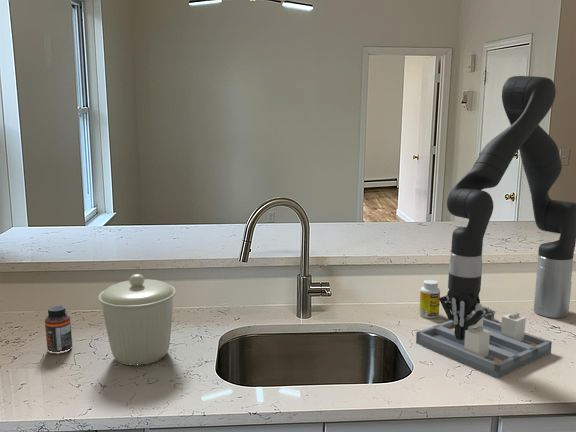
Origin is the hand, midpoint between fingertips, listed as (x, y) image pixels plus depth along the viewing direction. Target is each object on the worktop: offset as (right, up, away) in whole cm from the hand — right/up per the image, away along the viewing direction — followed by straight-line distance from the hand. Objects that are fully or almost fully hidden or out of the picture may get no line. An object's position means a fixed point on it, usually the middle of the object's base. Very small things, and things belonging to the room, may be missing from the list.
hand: (460, 338), depth 142 cm
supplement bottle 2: (-1, +1, +27) cm, 27 cm away
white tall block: (+5, -1, +7) cm, 8 cm away
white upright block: (+15, -1, +5) cm, 16 cm away
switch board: (+7, -3, +4) cm, 9 cm away
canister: (-78, -5, +1) cm, 79 cm away
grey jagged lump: (+12, 0, +24) cm, 27 cm away
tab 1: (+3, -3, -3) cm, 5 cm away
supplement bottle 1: (-100, -4, +5) cm, 100 cm away
